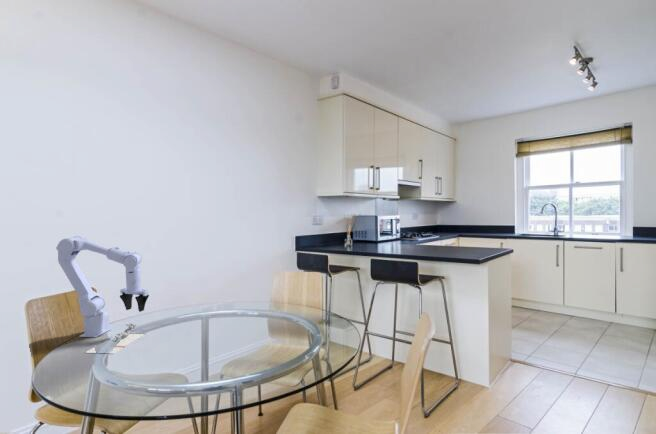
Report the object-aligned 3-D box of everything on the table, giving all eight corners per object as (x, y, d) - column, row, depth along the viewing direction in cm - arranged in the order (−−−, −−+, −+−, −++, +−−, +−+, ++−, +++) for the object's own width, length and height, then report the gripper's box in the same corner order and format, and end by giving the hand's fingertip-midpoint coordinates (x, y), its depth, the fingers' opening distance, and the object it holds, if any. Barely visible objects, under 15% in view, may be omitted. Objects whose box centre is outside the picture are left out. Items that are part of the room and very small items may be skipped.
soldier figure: (107, 344, 145) (121, 325, 156) (117, 350, 146) (130, 331, 157) (117, 333, 143) (131, 315, 154) (128, 339, 144) (140, 321, 155)
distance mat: (120, 332, 155) (120, 332, 155) (145, 333, 154) (145, 333, 154) (84, 352, 135) (84, 352, 135) (113, 354, 134) (113, 353, 134)
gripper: (113, 281, 155) (115, 311, 156) (138, 283, 150) (139, 314, 151) (127, 277, 161) (129, 306, 162) (151, 279, 156) (152, 309, 157)
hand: (135, 310), depth 157 cm, fingers open, 7 cm apart
